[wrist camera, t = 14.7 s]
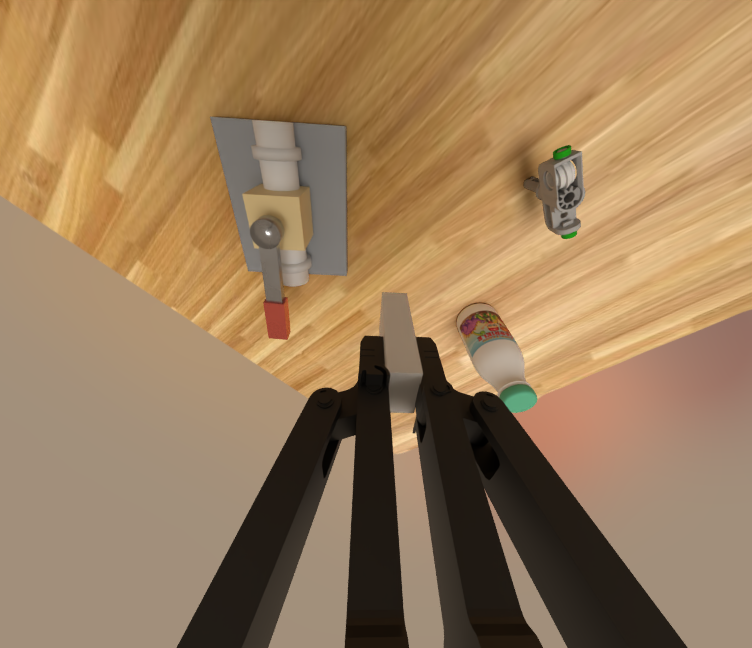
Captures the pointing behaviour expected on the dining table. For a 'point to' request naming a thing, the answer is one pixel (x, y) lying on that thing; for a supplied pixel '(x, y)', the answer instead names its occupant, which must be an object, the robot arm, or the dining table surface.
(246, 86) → the dining table surface
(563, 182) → the mechanical component
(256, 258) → the pipe valve base
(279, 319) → the valve lever
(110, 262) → the dining table surface
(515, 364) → the milk bottle
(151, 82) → the dining table surface
